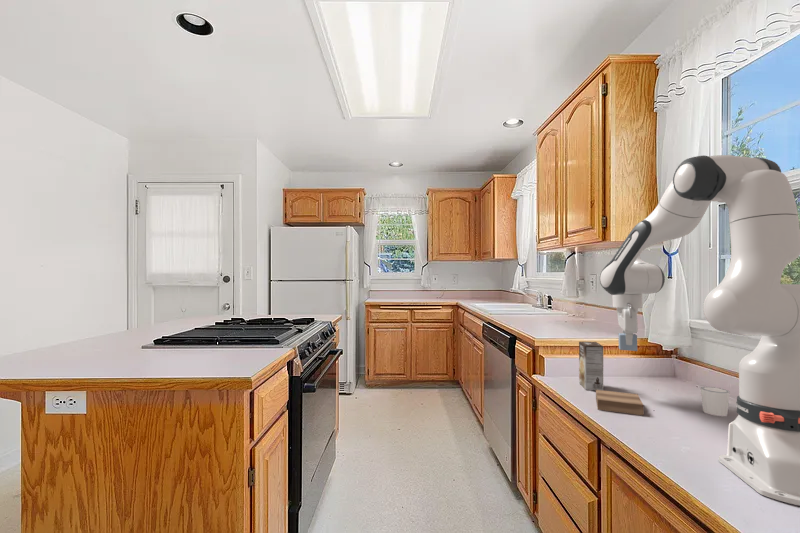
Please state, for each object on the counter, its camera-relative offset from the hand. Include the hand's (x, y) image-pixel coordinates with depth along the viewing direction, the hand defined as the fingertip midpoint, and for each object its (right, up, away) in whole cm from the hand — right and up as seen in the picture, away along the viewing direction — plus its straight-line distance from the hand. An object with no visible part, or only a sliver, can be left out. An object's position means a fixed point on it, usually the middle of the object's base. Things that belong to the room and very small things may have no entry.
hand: (627, 343), depth 134 cm
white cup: (+17, -18, -16) cm, 29 cm away
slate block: (0, -2, 0) cm, 2 cm away
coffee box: (-7, -19, +11) cm, 23 cm away
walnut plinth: (-9, -18, -11) cm, 22 cm away
